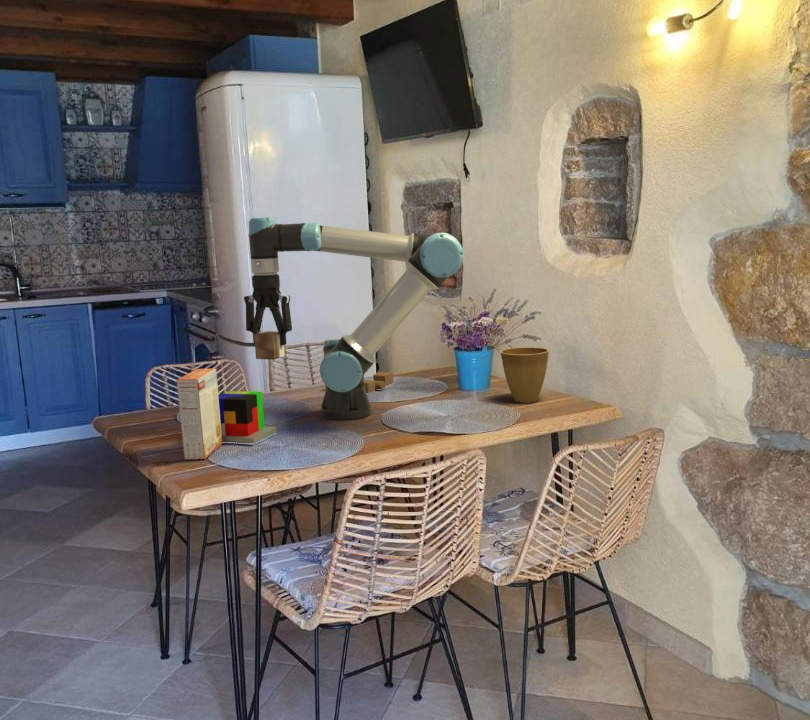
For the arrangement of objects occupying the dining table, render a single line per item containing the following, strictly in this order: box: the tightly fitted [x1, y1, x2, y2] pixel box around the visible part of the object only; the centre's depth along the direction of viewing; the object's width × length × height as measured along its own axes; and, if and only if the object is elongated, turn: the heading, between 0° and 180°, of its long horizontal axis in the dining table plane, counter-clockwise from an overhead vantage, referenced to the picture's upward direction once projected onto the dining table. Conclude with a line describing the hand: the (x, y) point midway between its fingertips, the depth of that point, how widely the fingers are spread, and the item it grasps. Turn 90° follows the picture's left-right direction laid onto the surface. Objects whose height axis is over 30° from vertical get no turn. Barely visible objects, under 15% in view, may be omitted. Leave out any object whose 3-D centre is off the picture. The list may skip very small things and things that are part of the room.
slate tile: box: [222, 425, 278, 443], centre depth 223 cm, size 16×12×2 cm
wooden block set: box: [364, 371, 394, 393], centre depth 283 cm, size 17×6×18 cm
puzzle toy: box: [218, 390, 265, 436], centre depth 222 cm, size 10×10×10 cm
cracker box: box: [176, 368, 223, 461], centre depth 208 cm, size 14×6×21 cm, turn 174°
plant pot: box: [500, 346, 550, 404], centre depth 255 cm, size 15×15×16 cm
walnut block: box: [254, 330, 286, 361], centre depth 228 cm, size 6×6×7 cm
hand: (270, 356), depth 229 cm, fingers closed on walnut block, 6 cm apart
